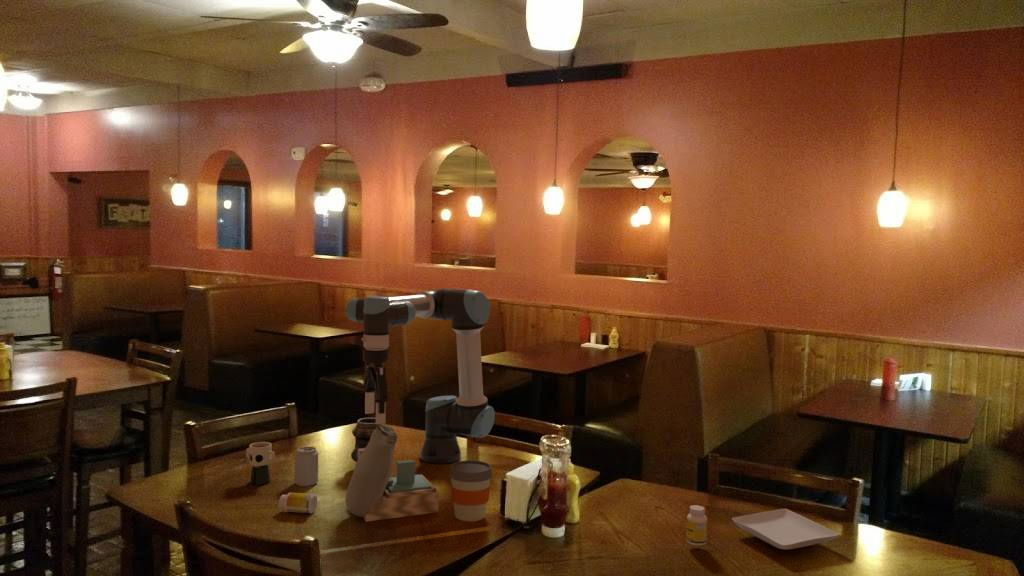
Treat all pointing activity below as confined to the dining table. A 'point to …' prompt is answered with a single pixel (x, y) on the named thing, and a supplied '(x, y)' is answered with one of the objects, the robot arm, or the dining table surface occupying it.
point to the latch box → (405, 503)
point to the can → (306, 466)
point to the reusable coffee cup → (470, 489)
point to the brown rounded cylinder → (371, 472)
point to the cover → (406, 478)
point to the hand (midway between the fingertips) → (374, 418)
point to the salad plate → (785, 529)
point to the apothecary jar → (363, 434)
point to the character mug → (260, 461)
